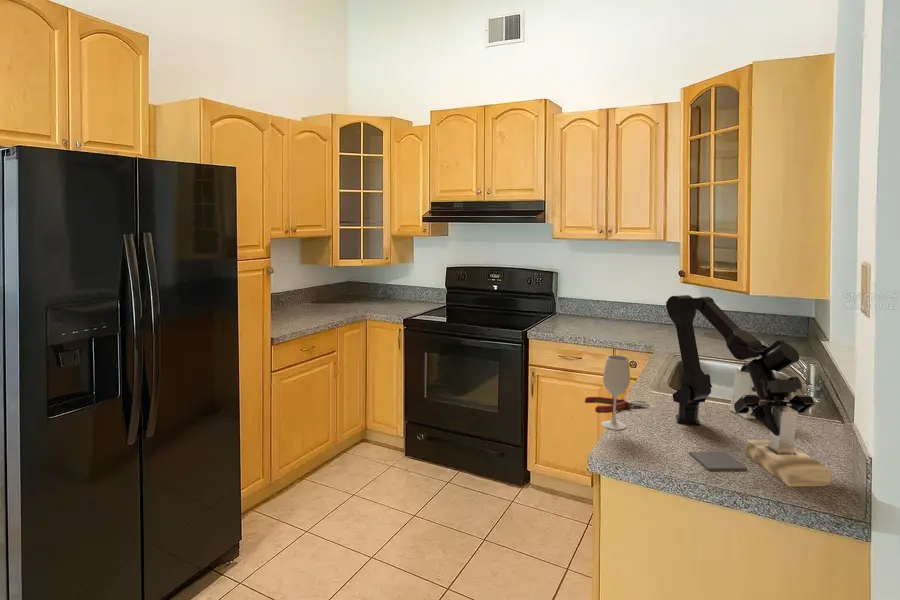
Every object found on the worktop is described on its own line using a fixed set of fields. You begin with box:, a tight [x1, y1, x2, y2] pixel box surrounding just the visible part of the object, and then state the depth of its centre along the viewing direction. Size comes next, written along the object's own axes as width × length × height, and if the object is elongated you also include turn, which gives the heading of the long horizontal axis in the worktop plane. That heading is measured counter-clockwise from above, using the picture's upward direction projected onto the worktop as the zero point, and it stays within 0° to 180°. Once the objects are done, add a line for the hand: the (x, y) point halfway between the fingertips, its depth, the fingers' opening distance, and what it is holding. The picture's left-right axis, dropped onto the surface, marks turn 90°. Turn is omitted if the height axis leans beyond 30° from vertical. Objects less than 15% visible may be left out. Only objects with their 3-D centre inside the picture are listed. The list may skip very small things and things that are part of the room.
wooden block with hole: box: [745, 439, 833, 487], centre depth 143 cm, size 18×10×4 cm, turn 3°
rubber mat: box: [688, 451, 748, 471], centre depth 147 cm, size 10×10×1 cm
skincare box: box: [729, 366, 757, 420], centre depth 183 cm, size 8×6×15 cm
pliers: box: [584, 396, 651, 414], centre depth 189 cm, size 12×20×3 cm, turn 98°
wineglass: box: [600, 354, 631, 431], centre depth 170 cm, size 8×8×21 cm
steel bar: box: [768, 406, 799, 455], centre depth 145 cm, size 4×4×13 cm
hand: (785, 435), depth 143 cm, fingers closed on steel bar, 4 cm apart
